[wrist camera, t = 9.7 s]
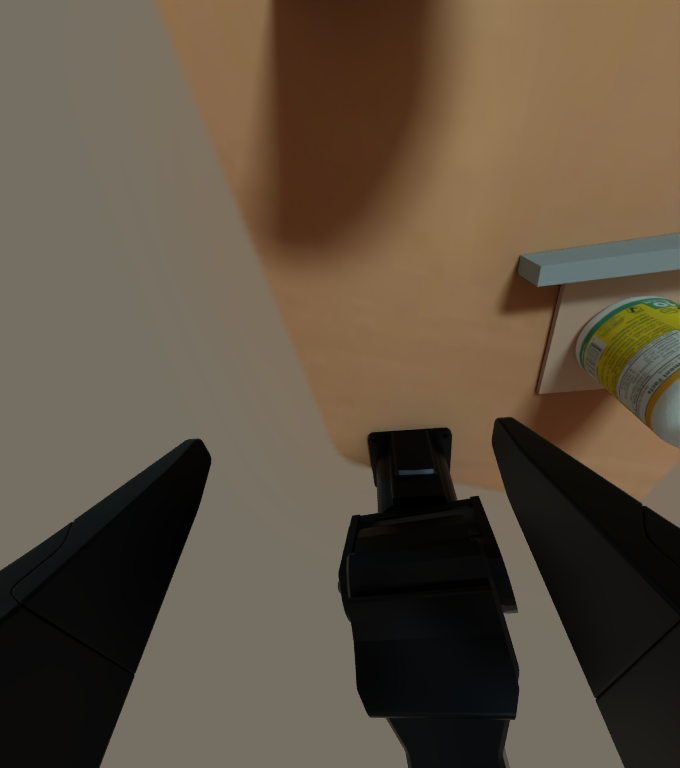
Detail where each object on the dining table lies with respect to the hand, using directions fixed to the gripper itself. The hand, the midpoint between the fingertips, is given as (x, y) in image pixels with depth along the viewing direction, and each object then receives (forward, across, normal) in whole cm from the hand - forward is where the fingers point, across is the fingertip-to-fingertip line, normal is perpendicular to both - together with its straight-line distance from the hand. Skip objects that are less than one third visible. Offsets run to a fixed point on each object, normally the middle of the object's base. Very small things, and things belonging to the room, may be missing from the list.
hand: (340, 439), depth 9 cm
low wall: (+12, -16, -1) cm, 20 cm away
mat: (+12, -16, +4) cm, 20 cm away
